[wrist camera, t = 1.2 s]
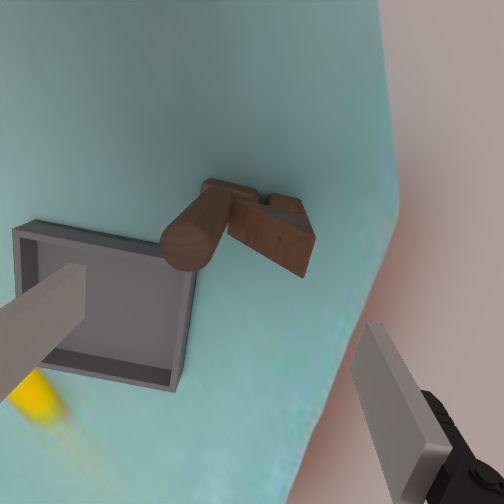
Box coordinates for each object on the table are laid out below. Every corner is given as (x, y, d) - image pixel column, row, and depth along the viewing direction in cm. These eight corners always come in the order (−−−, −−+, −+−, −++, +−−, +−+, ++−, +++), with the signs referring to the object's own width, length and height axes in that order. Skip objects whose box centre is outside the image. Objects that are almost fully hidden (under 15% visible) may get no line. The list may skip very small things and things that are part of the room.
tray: (35, 219, 42) (12, 228, 38) (200, 251, 42) (193, 264, 38) (39, 344, 48) (19, 363, 44) (182, 372, 48) (175, 392, 44)
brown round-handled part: (293, 229, 40) (309, 303, 23) (202, 208, 40) (152, 267, 23) (302, 198, 39) (324, 253, 22) (208, 176, 39) (159, 215, 22)
